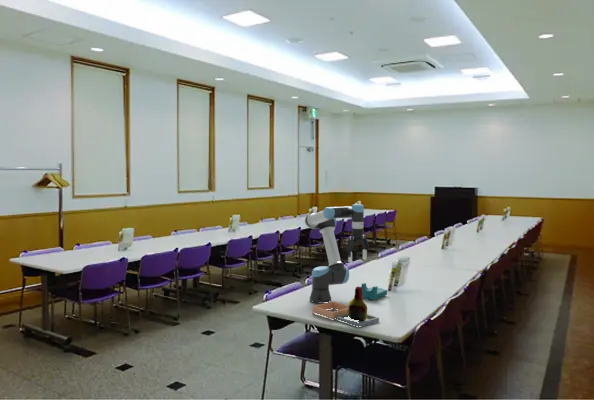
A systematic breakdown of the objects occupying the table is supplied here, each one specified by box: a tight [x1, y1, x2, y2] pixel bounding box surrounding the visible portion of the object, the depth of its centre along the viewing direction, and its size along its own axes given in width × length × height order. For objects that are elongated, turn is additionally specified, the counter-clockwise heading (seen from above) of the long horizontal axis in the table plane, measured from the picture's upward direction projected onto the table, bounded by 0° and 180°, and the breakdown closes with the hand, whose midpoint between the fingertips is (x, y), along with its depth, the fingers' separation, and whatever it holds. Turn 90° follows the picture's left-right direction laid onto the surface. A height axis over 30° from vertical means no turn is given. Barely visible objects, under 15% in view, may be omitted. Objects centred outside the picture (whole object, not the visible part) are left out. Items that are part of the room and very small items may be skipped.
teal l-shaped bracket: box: [360, 282, 388, 301], centre depth 339 cm, size 18×11×10 cm, turn 140°
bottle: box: [347, 286, 368, 321], centre depth 284 cm, size 12×6×20 cm, turn 53°
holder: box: [312, 300, 349, 319], centre depth 297 cm, size 18×18×5 cm
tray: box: [336, 313, 380, 327], centre depth 284 cm, size 18×18×2 cm
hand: (357, 260), depth 308 cm, fingers open, 13 cm apart
